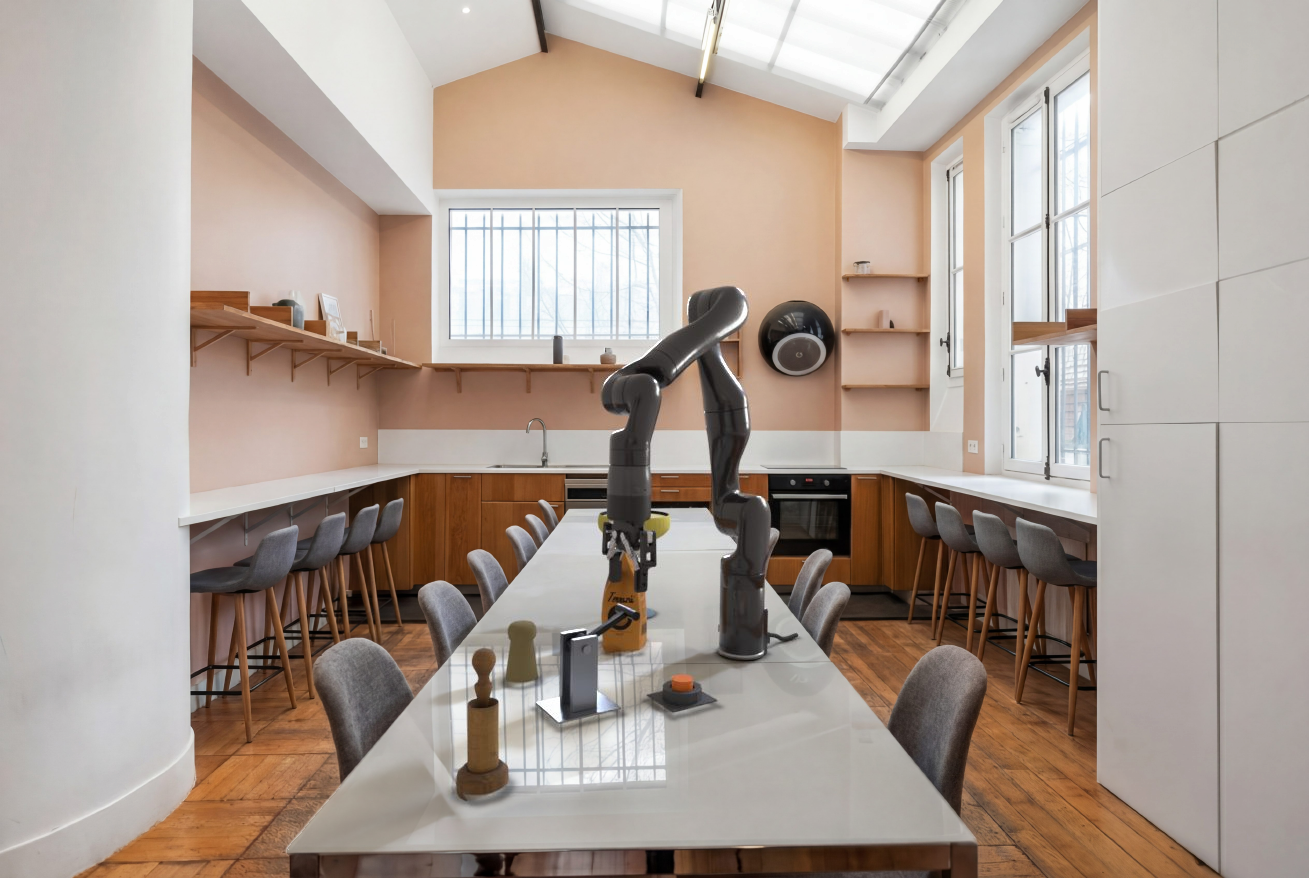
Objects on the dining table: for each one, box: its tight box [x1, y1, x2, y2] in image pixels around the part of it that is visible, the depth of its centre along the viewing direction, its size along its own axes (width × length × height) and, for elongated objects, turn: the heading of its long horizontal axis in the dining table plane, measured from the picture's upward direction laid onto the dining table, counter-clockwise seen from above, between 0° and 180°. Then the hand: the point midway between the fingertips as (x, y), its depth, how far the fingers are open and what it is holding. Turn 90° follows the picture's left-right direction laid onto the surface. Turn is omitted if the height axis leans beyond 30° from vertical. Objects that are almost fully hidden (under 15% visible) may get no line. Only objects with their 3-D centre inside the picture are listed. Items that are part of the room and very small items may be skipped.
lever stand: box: [535, 628, 622, 724], centre depth 112 cm, size 11×9×13 cm
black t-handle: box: [567, 604, 640, 651], centre depth 114 cm, size 12×6×2 cm, turn 122°
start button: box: [671, 673, 694, 691], centre depth 116 cm, size 4×4×2 cm
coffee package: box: [600, 552, 648, 655], centre depth 145 cm, size 10×12×22 cm
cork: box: [505, 619, 538, 684], centre depth 125 cm, size 6×6×11 cm
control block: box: [646, 680, 718, 713], centre depth 116 cm, size 9×8×3 cm
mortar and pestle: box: [455, 647, 510, 802], centre depth 88 cm, size 7×6×18 cm
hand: (627, 586), depth 117 cm, fingers open, 8 cm apart
